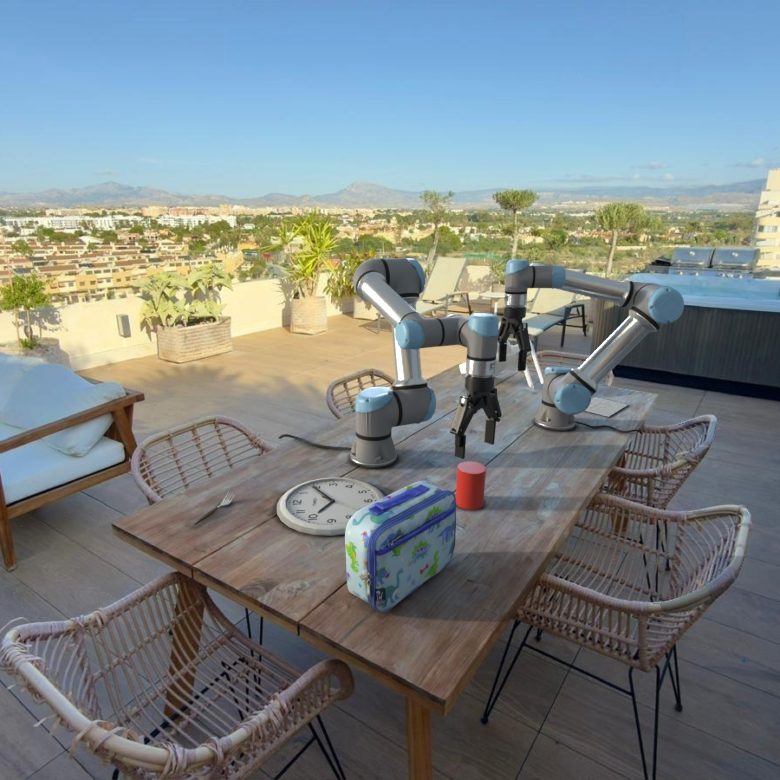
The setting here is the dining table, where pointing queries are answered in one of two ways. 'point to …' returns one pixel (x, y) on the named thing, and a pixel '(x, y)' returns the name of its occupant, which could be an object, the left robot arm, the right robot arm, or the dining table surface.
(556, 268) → the right robot arm
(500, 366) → the white plastic object
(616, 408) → the invitation card
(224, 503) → the fork
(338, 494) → the wall clock
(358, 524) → the lunch box
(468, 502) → the canister
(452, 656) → the dining table surface
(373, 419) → the left robot arm
